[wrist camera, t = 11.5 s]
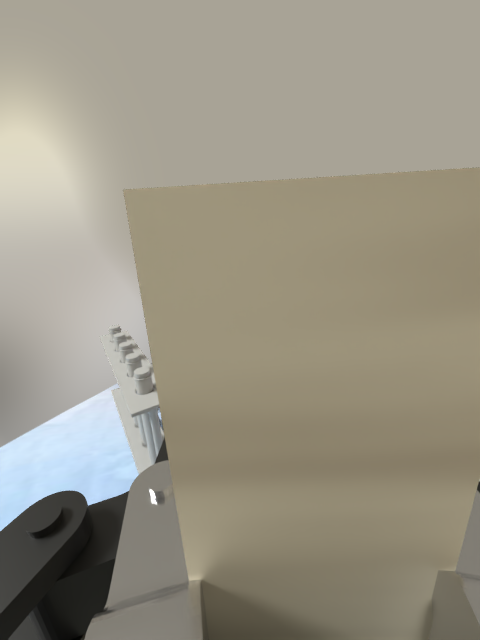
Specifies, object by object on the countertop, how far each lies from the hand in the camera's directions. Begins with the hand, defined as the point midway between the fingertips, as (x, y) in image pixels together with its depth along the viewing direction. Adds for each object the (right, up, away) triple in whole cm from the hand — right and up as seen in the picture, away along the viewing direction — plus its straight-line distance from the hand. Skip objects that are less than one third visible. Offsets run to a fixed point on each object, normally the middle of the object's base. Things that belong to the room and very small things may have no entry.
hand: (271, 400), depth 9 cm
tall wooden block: (+1, -10, 0) cm, 10 cm away
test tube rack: (-15, -13, +29) cm, 35 cm away
